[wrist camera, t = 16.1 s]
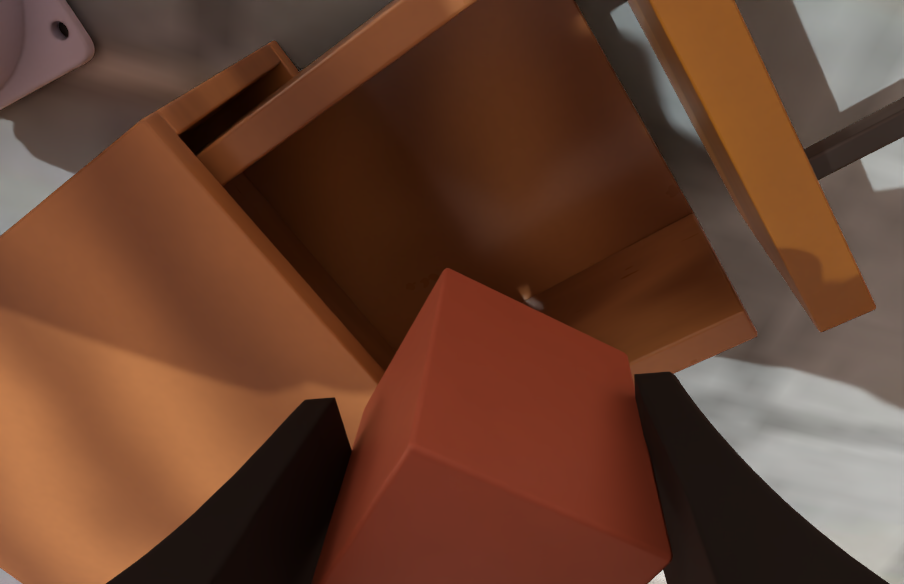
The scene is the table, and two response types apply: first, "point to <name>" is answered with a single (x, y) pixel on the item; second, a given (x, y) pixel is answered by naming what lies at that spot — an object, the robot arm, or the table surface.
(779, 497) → the robot arm
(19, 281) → the cabinet
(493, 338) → the block
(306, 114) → the drawer
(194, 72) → the table surface
